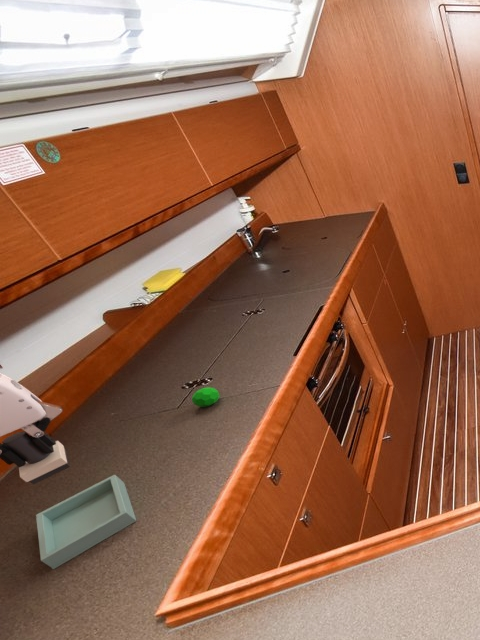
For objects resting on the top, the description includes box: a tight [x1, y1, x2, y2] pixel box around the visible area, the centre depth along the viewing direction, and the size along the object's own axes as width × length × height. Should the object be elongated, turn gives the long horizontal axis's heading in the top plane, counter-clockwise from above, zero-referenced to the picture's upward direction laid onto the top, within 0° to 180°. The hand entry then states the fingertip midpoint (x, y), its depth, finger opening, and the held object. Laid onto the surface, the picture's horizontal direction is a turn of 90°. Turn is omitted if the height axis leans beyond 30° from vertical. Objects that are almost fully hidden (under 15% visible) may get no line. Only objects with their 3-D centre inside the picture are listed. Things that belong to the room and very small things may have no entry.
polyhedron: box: [191, 386, 220, 408], centre depth 108 cm, size 5×5×5 cm
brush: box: [1, 430, 71, 485], centre depth 76 cm, size 7×5×9 cm
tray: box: [35, 474, 137, 570], centre depth 81 cm, size 15×11×3 cm
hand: (36, 455), depth 76 cm, fingers closed on brush, 2 cm apart
